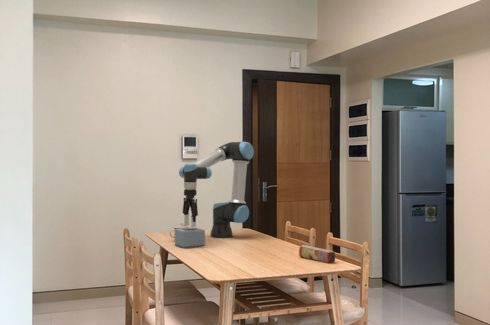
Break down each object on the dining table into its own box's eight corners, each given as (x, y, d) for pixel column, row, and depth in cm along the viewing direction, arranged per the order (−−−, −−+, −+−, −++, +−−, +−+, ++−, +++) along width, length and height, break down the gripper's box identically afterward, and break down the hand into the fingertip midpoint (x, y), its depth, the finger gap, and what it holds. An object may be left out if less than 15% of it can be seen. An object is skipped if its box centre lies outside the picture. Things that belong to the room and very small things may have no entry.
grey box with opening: (195, 243, 319) (195, 227, 319) (204, 246, 309) (204, 229, 309) (175, 245, 312) (175, 229, 312) (183, 248, 302) (183, 231, 301)
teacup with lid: (187, 239, 334) (187, 222, 334) (189, 242, 325) (189, 223, 325) (168, 240, 331) (169, 222, 331) (170, 242, 322) (170, 224, 322)
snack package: (336, 262, 264) (336, 249, 264) (327, 264, 260) (327, 250, 260) (306, 256, 281) (306, 244, 281) (297, 257, 276) (298, 245, 276)
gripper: (177, 188, 317) (176, 224, 317) (192, 190, 299) (192, 228, 299) (188, 188, 321) (187, 224, 321) (204, 189, 303) (203, 228, 303)
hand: (190, 226), depth 310 cm, fingers open, 9 cm apart
